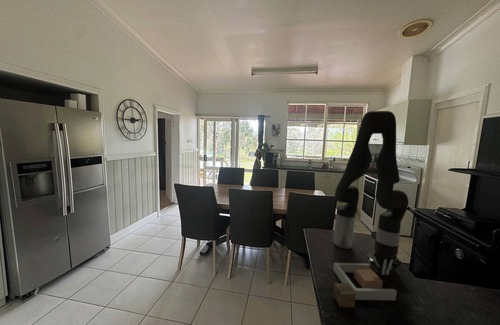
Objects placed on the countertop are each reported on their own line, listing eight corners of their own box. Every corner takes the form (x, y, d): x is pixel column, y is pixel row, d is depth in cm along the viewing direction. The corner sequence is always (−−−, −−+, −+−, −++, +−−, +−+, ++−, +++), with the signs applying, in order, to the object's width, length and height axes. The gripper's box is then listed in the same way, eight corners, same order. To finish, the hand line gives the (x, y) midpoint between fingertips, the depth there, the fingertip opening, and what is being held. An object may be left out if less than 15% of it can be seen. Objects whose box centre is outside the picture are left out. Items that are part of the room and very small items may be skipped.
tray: (333, 270, 88) (334, 262, 88) (367, 271, 89) (368, 263, 89) (354, 299, 72) (355, 290, 72) (395, 300, 73) (396, 291, 72)
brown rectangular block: (353, 277, 85) (354, 269, 84) (370, 278, 85) (371, 269, 84) (363, 290, 78) (364, 280, 77) (381, 290, 78) (382, 280, 77)
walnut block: (333, 296, 73) (334, 283, 73) (346, 296, 74) (347, 283, 73) (339, 307, 69) (341, 293, 68) (354, 307, 69) (355, 294, 68)
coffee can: (387, 260, 98) (391, 232, 97) (398, 273, 88) (402, 243, 87) (364, 257, 100) (367, 230, 99) (372, 269, 90) (376, 239, 89)
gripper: (395, 236, 83) (390, 275, 85) (364, 235, 82) (360, 275, 84) (411, 245, 76) (405, 288, 77) (377, 245, 75) (372, 288, 77)
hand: (381, 281), depth 81 cm, fingers closed
